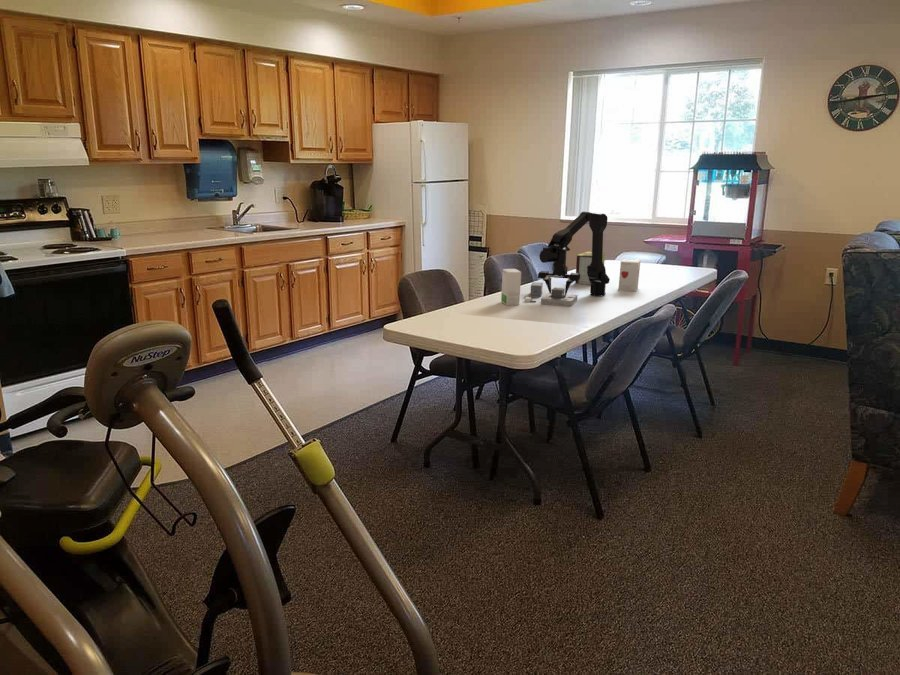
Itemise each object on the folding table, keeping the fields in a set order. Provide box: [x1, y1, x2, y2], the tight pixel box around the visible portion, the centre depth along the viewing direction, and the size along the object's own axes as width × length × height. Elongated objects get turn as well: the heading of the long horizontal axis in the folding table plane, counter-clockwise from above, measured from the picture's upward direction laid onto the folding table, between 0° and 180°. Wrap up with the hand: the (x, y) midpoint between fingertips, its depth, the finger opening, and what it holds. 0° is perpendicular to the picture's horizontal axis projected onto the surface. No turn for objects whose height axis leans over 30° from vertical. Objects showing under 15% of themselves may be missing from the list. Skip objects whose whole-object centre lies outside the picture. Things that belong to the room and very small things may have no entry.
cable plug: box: [524, 296, 537, 303], centre depth 302 cm, size 5×3×2 cm, turn 68°
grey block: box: [551, 287, 566, 298], centre depth 302 cm, size 5×5×7 cm
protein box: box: [574, 251, 606, 286], centre depth 348 cm, size 10×15×16 cm
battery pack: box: [530, 281, 544, 298], centre depth 316 cm, size 5×9×6 cm, turn 168°
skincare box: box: [500, 268, 522, 307], centre depth 296 cm, size 8×7×16 cm
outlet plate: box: [540, 292, 578, 307], centre depth 301 cm, size 14×14×3 cm
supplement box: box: [618, 258, 641, 292], centre depth 329 cm, size 9×9×15 cm
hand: (558, 294), depth 302 cm, fingers open, 7 cm apart
